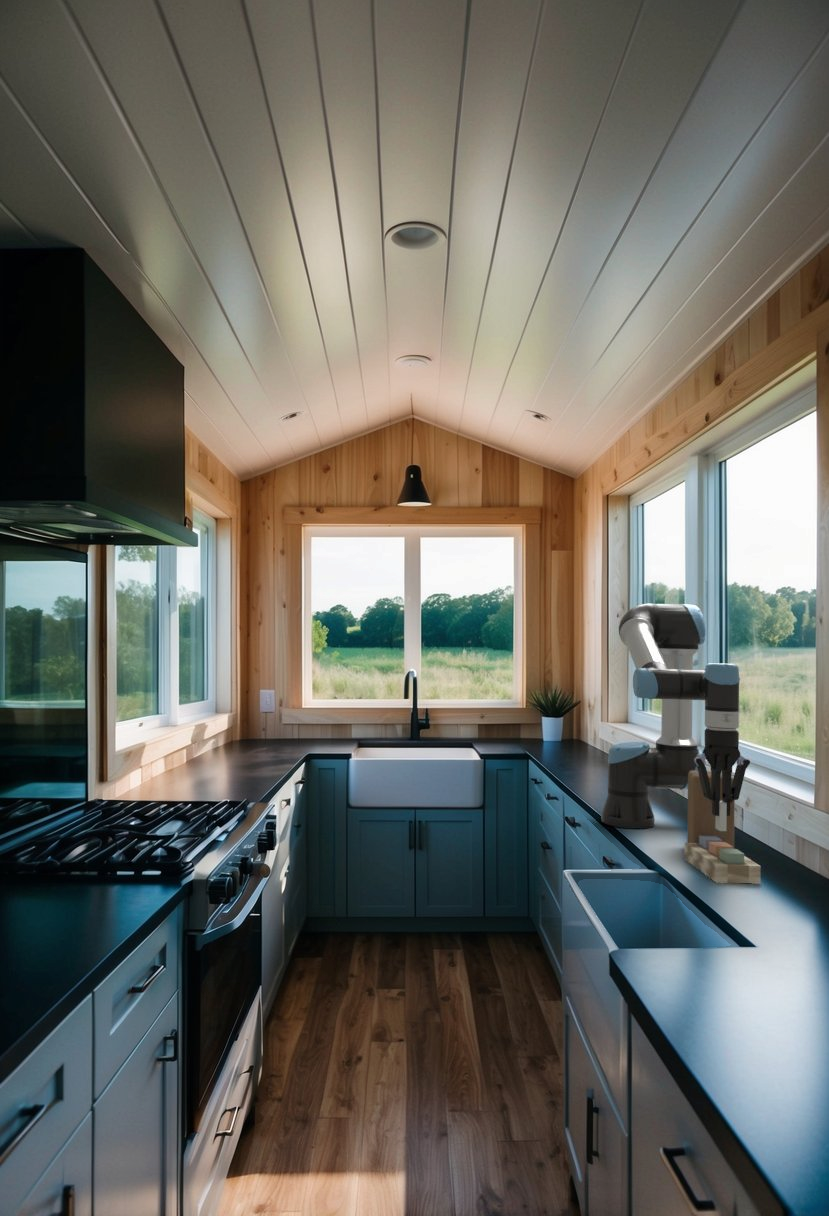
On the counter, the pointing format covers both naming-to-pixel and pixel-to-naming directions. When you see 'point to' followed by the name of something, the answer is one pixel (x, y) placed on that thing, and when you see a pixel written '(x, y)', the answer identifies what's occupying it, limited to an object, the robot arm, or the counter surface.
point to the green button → (731, 856)
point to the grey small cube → (707, 841)
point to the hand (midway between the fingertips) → (720, 829)
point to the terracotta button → (718, 847)
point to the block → (705, 812)
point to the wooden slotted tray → (722, 866)
